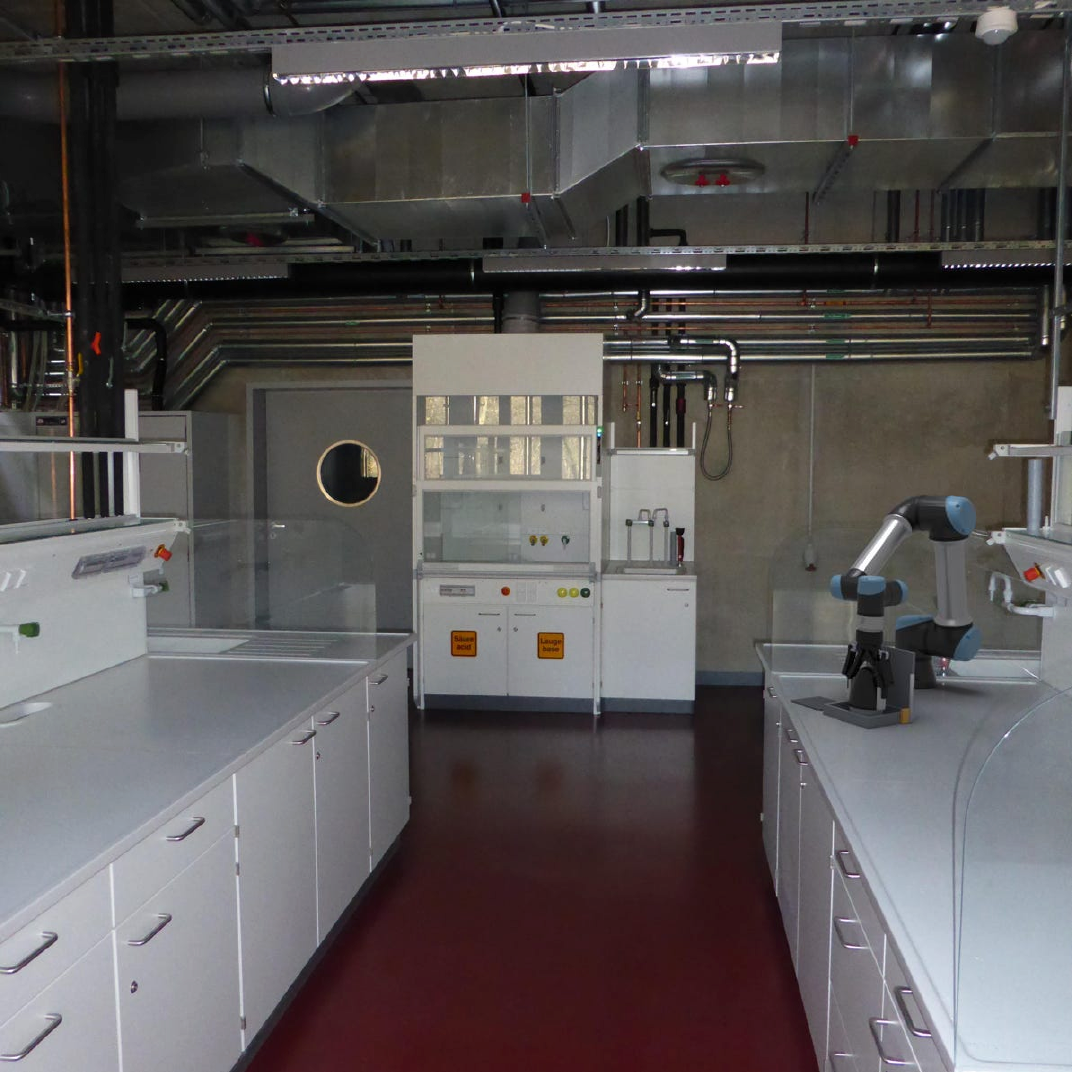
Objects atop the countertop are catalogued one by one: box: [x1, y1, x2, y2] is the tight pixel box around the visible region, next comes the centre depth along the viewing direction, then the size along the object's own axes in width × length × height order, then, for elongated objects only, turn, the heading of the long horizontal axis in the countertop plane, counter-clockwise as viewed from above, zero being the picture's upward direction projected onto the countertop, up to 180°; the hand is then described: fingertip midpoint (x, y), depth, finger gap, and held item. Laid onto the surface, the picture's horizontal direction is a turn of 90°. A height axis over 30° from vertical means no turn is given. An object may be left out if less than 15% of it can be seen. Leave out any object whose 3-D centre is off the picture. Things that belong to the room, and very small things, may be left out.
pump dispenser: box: [847, 665, 883, 717], centre depth 278 cm, size 10×10×15 cm
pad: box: [790, 695, 838, 712], centre depth 293 cm, size 12×12×1 cm
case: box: [822, 644, 915, 730], centre depth 277 cm, size 18×18×20 cm
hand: (866, 704), depth 278 cm, fingers closed on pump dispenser, 10 cm apart
